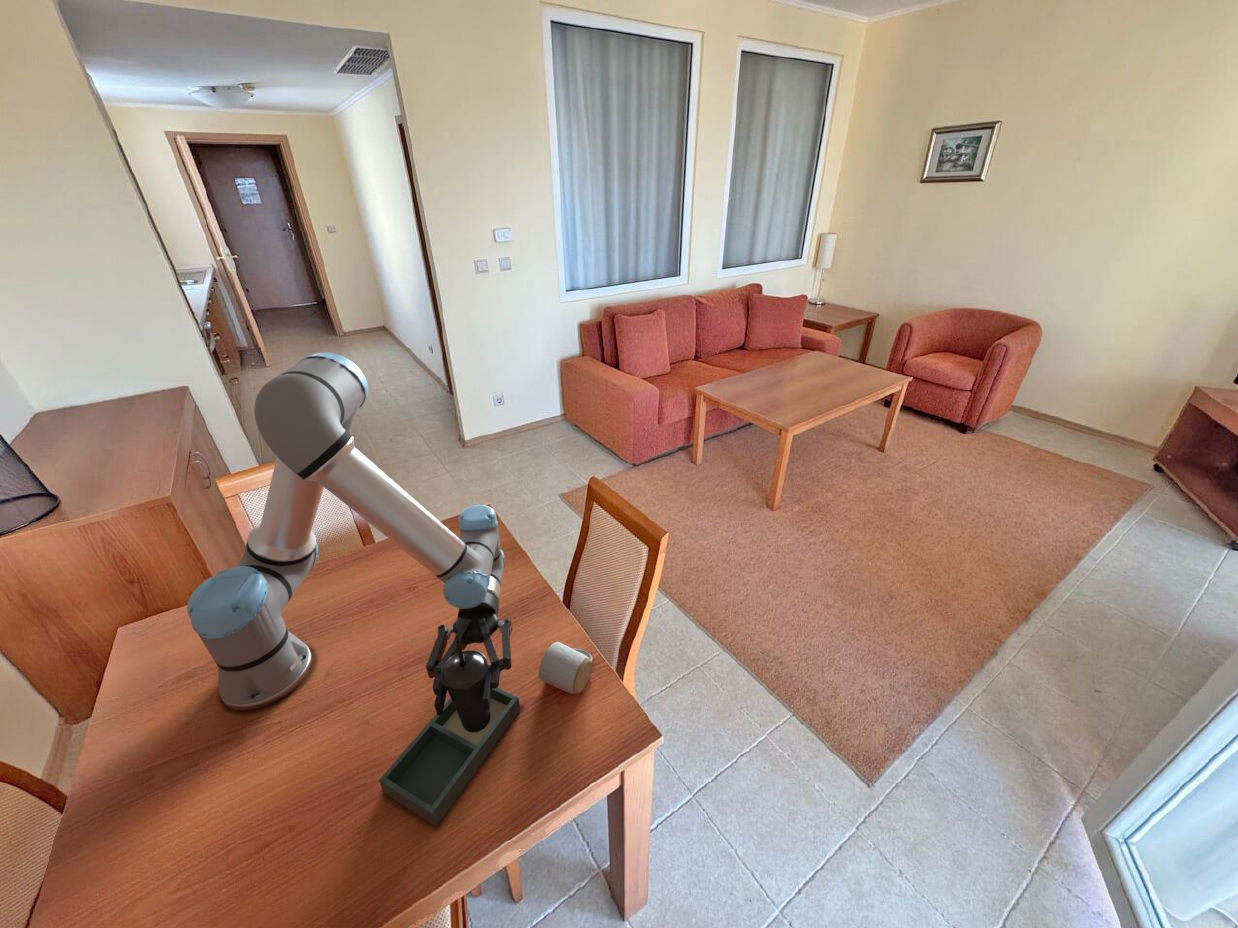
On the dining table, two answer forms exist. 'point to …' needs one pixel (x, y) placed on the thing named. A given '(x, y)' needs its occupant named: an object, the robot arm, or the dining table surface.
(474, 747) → the divided tray
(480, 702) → the drinking cup
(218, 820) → the dining table surface
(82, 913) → the dining table surface
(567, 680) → the ceramic mug
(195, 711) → the dining table surface
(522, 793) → the dining table surface
